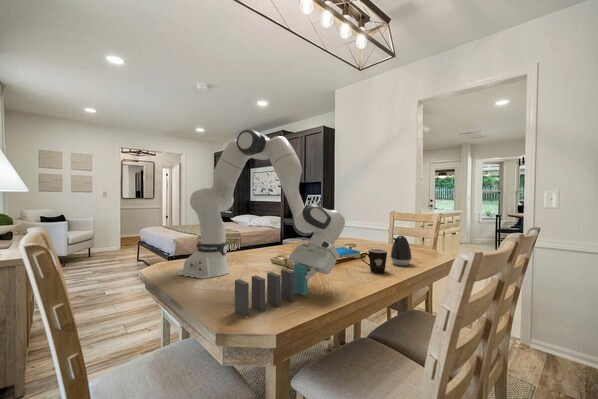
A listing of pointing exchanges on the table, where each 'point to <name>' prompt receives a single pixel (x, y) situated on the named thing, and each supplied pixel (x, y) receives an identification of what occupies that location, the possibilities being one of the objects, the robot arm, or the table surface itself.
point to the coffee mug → (376, 260)
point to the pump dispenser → (401, 251)
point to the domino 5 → (300, 279)
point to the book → (347, 252)
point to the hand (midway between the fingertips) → (299, 277)
